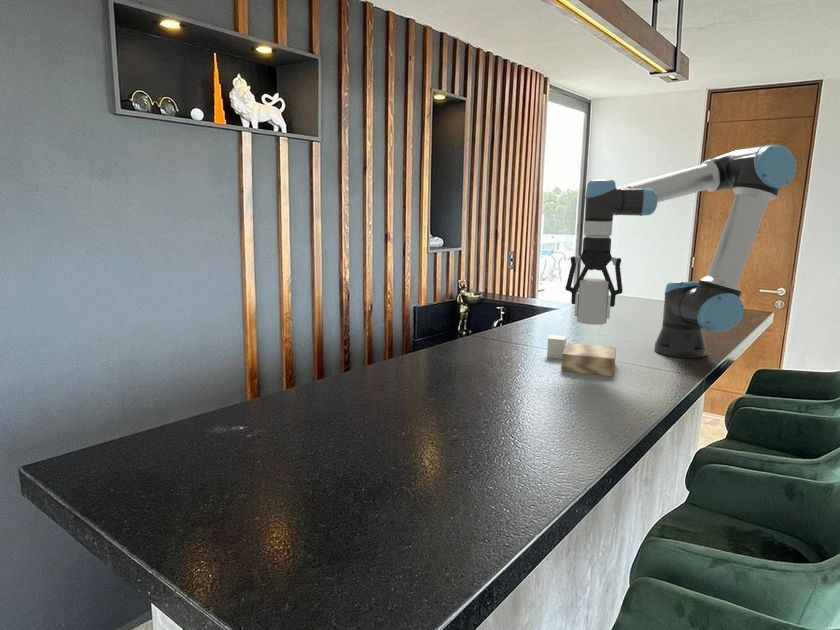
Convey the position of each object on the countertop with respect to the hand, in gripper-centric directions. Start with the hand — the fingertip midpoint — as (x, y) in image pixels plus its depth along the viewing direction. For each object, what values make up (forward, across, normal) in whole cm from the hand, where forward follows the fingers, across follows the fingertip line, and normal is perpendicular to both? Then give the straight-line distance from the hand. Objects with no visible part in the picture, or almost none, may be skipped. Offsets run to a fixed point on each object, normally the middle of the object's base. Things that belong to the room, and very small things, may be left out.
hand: (591, 316), depth 166 cm
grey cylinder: (+2, 0, 0) cm, 2 cm away
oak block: (+15, 0, 0) cm, 15 cm away
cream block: (+15, +10, -10) cm, 21 cm away
